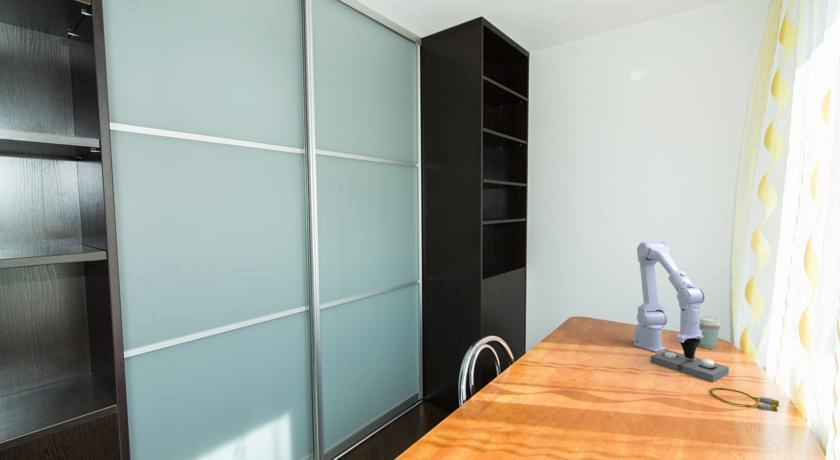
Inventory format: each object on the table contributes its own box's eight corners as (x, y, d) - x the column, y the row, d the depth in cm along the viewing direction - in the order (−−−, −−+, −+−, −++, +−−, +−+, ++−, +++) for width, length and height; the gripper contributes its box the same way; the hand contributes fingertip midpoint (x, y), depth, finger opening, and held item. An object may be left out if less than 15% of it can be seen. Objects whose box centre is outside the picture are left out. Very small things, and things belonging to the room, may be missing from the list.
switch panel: (650, 362, 145) (650, 355, 145) (667, 355, 151) (667, 349, 151) (712, 382, 128) (713, 375, 128) (728, 373, 134) (728, 366, 134)
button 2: (699, 365, 135) (699, 359, 135) (704, 363, 137) (704, 357, 137) (711, 368, 132) (711, 363, 132) (715, 366, 134) (716, 360, 133)
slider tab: (685, 358, 141) (685, 351, 141) (688, 357, 142) (688, 349, 142) (694, 361, 139) (694, 353, 138) (697, 359, 140) (697, 352, 140)
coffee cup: (711, 343, 164) (712, 315, 163) (725, 350, 156) (725, 321, 155) (690, 343, 165) (690, 315, 164) (702, 350, 156) (703, 321, 156)
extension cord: (765, 419, 106) (766, 412, 106) (702, 395, 120) (702, 389, 120) (785, 408, 112) (785, 401, 112) (722, 386, 126) (722, 380, 126)
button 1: (662, 358, 145) (662, 353, 145) (667, 356, 147) (667, 351, 147) (673, 361, 142) (673, 356, 142) (678, 359, 144) (678, 354, 144)
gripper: (692, 327, 132) (691, 366, 132) (711, 320, 139) (711, 357, 140) (670, 322, 138) (669, 359, 138) (690, 315, 145) (689, 351, 146)
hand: (689, 357), depth 139 cm, fingers closed
